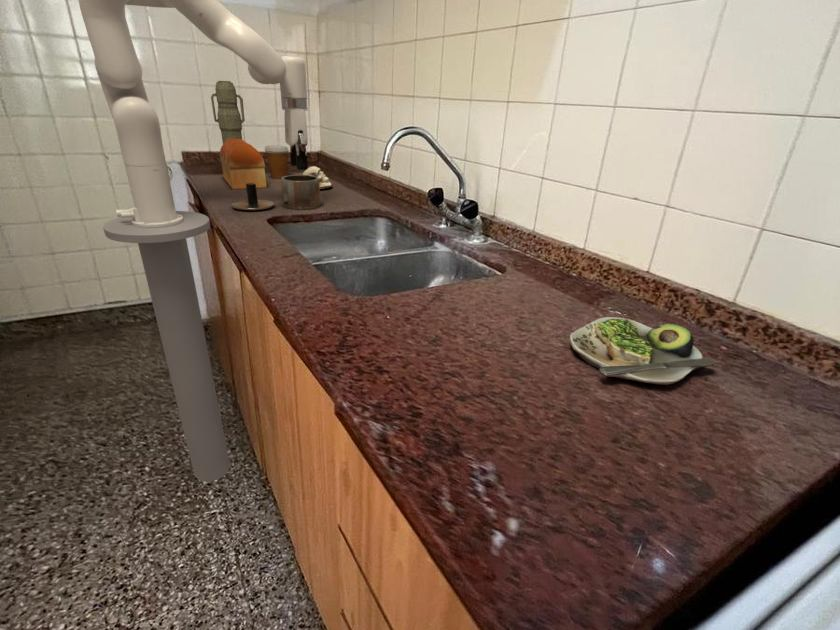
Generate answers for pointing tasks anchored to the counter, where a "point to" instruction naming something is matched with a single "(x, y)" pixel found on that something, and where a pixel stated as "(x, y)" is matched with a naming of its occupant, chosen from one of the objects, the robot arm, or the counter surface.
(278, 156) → the disposable coffee cup
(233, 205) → the lid
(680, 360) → the avocado toast plate
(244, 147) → the bread
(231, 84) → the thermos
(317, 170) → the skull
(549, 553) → the counter surface
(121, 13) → the robot arm
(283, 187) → the pot
